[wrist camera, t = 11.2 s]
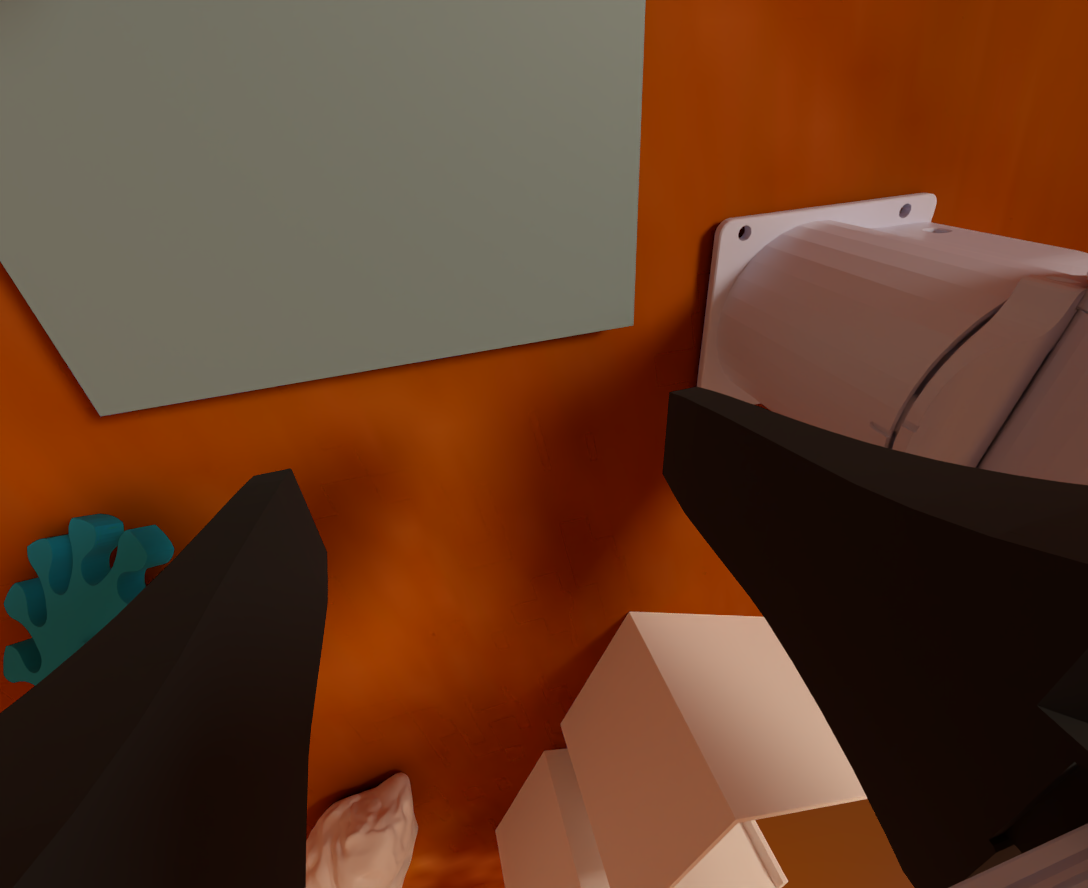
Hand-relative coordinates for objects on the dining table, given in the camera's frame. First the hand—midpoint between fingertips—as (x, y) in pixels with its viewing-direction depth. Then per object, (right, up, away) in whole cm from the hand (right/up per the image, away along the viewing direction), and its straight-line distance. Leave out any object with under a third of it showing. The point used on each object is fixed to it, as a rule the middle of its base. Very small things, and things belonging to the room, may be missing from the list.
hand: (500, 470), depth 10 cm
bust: (-11, -23, +23) cm, 34 cm away
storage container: (+6, -20, +28) cm, 35 cm away
